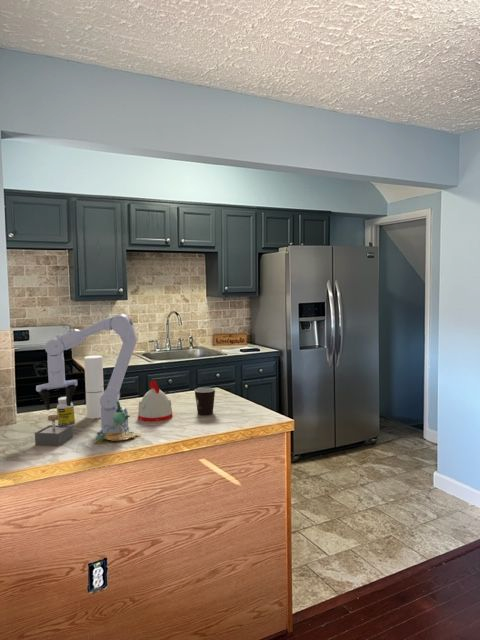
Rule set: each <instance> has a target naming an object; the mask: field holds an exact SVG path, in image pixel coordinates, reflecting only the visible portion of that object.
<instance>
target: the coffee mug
mask: <svg viewBox="0 0 480 640" xmlns="http://www.w3.org/2000/svg"><path fill="white" fill-rule="evenodd" d="M194 394H195V395H194V396H195V403H196V404H195V405H196V410H197V411H196V412H197V415H199V416H205V417H206V416H211V415H213V413H214V407H215V405H214V404H215V397H216V396H215V395H216V389H215V388H213V387H198V388H195V389H194Z"/></svg>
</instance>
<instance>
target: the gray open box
mask: <svg viewBox="0 0 480 640" xmlns="http://www.w3.org/2000/svg"><path fill="white" fill-rule="evenodd" d="M49 427H52V424H51V425H47V426H46V427H45V426H44V427H43V428H42V429H40V430H38V431H35V432H34V442H35V444H34V445H35V446H51V447H61V446H62V445H64V444H65V443H67V442H68V441H70V440H71V439H73V438H74V435H73V426H58V424H57V425H56V424H55V427H66V428H67V429H65V430H63V431H61V432H60V433H58V434H57V433H40V432H42V431H44V430H45V429H47V428H49Z"/></svg>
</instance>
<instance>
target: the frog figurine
mask: <svg viewBox="0 0 480 640" xmlns="http://www.w3.org/2000/svg"><path fill="white" fill-rule="evenodd" d="M117 407H118V409H117V410H116V412H115V414H114V415H113V420H114V422H115V423H116V425H117V426H118V425H122V424H124V423H125V422H126V420H127V419H128V420H129V418H130V417H131V416H130V415H129V414H128V416H127V415H126V410H124V411H125V412H124V411H123V410H122V408H123V406H121V403H120V401H119V400H118V401H117ZM106 426H108V425H106ZM106 426H105V427H106ZM114 426H115V425H114V424H113V427H112V428H113V430H115V428H114ZM117 426H116V427H117ZM123 426H125V425H122V427H123ZM105 427H104V428H105ZM109 427H111V426H109ZM118 427H119V426H118ZM126 427H127V426H126ZM119 428H120V427H119ZM123 428H124V427H123ZM108 430H109V428H108ZM122 430H123V429H120V431H122ZM142 435H143V434H142V433H136V432H134V431H130V430H129V428H127V431H125V429H124V431H122V432H118V433H107V434H106V433H102V430H101V433H98V436H97V437H96V439H95V441H94V442H93V445H101V444H102V445H103V444H105V443H108V440H110V441H113V442H114V441H125V440H126V441H127V440H130V439H135V438H137V437H138V438H139V437H143V436H142ZM103 439H105V440H103Z"/></svg>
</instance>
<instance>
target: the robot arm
mask: <svg viewBox="0 0 480 640" xmlns="http://www.w3.org/2000/svg"><path fill="white" fill-rule="evenodd" d="M134 327H135V326H134V322H133V321H132V319H131V318H130V316H129V315H127V314H126V313H118V314H117V315H116V316H115V315H113V316H110V317H106V318H103V319H101V320H99V321H97V322H94V323H92V324H91V325H88V326H87V327H85V328H83V329H77V328H74V329H73V328H70V329H68V330H67V332H65V333H63V334H61V335H60V334H59V335H56V336H55V338H52V339H50V340H47V342H46V343H45V346H44V349H45V352H46V353H47V354H46V355H47V361H46V362H47V374H48V375H47V376H48V377H47V378H48V382H47V383H43V384H38V385H35V386H36V387H35V391H36V392H38V393H39V395H40V396H41V399H42V400H43V403H44V406H45V410H47V411H49V410H50V409H51V407H50V406H51V405H50V395H51V393H50V392H49V390H53V389H54V390H55V389H62V388H64V389H65V397H66V403H67V406H71V403H72V399H73V396H74V394H75V391H77V390H76V389H77V386H78V379H70V380H69V379H68V380H66V374H65V373H66V371H65V369H66V368H65V356H64V351H67V350H70V349H72V348H75V347H77V346H78V345H81V344H83V342H84V339H85V338H87V337H90V336H92V335H94V334H97V333H99V332H102V331H109V332H110V331H112V330H113V332H115V334H117V335H118V336H119V337H120V339H121V341H122V345H121V348H120V350H119V353H118V356H117V359H116V362H115V365H114V367H113V371H112V373H111V376H110V378H109V381H108V383H107V386H106V389H105V390H104V393H103V395H102V396H101V398H100V404H101V418H100V419H101V420H100V423H101V424H100V426H101V429H99V430H98V431H96V433H97V434H101V430H102V433H104V434H107V433H118V432H122V431H124V429H125V432H127V431H128V429H130V427H129V418H128V419H127V420H126V422H125V423H124V424H122V425H125V426H123V427H124V428H123V427H122V425H118V426H119V427H120V428H119V427H118V426H117V425H116V423H115V422H114V420H113V415H114V414H115V412H116V410H117V409H118V407H117V401H119V400H120V398H121V391H120V390H121V388H122V384H123V382H124V378H125V375H126V372H127V370H128V367H129V364H130V361H131V359H132V355H133V352H134V350H135V348H136V345H137V341H138V338H137V334H136V330H135V328H134ZM122 410H123V411H124V410H126V415H127V416H128V415H129V413H128V410H127V408H126V407H122ZM124 412H125V411H124ZM113 424H114V425H115V426H114V428H115V430H113V428H112V427H113ZM106 425H108V426H106ZM105 426H106V427H105ZM109 426H111V427H109ZM116 426H117V427H116ZM126 426H127V427H126ZM104 427H105V428H104ZM108 428H109V430H108ZM127 428H128V429H127ZM120 429H123V430H122V431H120Z"/></svg>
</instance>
